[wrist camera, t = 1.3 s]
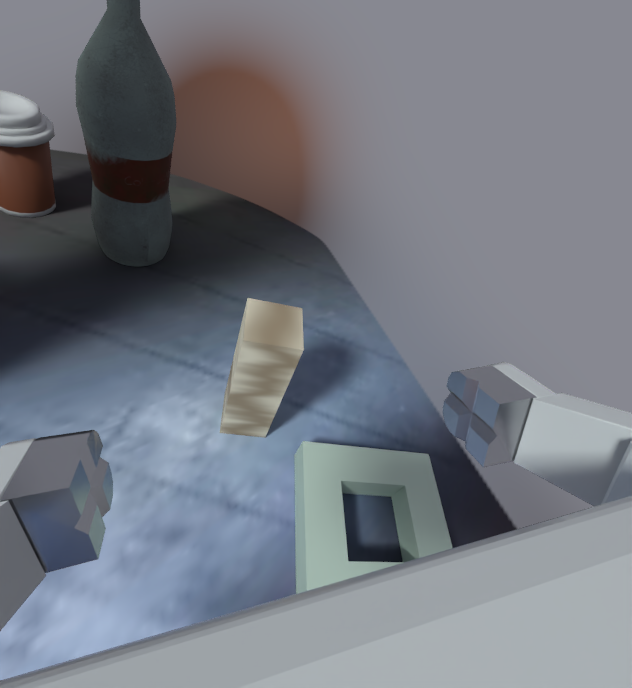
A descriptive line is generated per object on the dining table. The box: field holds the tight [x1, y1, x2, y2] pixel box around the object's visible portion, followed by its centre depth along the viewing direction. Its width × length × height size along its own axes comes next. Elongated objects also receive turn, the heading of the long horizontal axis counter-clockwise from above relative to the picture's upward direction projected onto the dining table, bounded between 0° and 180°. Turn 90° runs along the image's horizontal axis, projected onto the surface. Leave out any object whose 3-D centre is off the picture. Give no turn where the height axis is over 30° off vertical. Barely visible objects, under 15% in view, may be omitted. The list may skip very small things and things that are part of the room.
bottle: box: [76, 0, 176, 267], centre depth 40 cm, size 9×9×30 cm
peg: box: [220, 298, 304, 437], centre depth 34 cm, size 4×4×14 cm
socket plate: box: [295, 441, 453, 594], centre depth 34 cm, size 14×14×3 cm
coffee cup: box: [0, 90, 56, 218], centre depth 45 cm, size 9×9×12 cm
